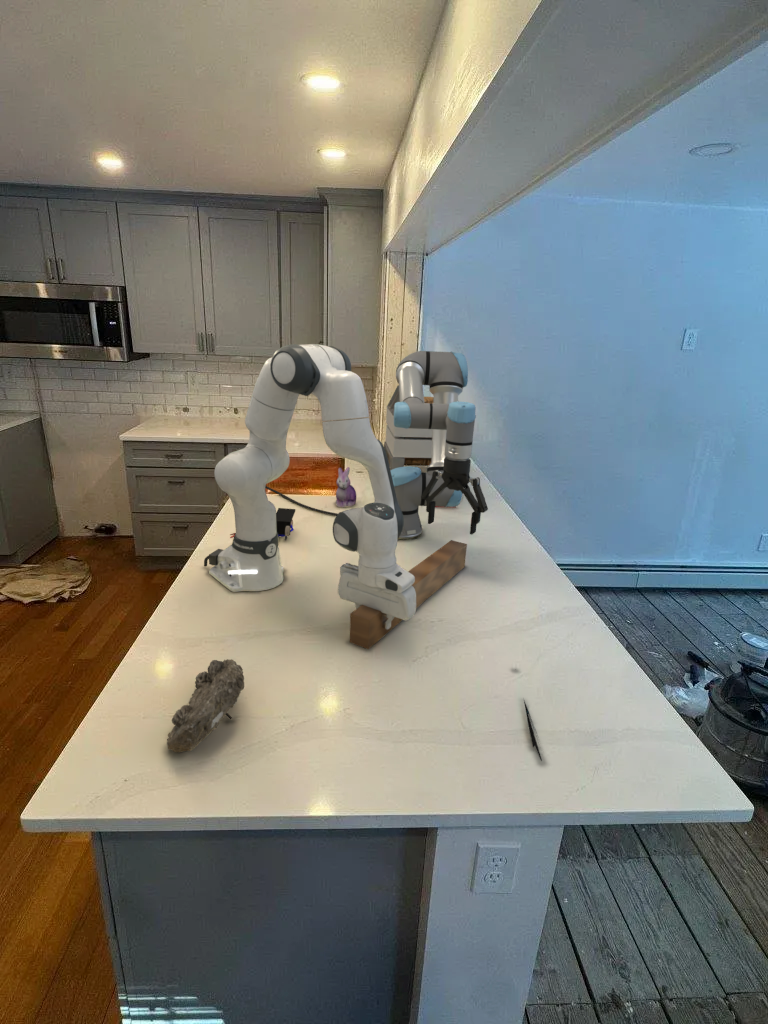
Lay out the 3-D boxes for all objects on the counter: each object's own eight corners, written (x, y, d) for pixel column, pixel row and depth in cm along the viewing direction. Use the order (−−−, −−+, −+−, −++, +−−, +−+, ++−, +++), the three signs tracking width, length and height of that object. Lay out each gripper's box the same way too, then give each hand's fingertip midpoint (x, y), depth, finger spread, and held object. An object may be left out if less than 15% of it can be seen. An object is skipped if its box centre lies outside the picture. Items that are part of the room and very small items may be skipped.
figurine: (339, 509, 221) (340, 472, 216) (329, 501, 229) (330, 465, 224) (361, 506, 225) (362, 470, 220) (351, 498, 234) (352, 463, 228)
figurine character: (291, 546, 188) (296, 525, 202) (290, 526, 185) (296, 506, 198) (270, 546, 188) (277, 525, 201) (269, 526, 185) (276, 506, 198)
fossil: (192, 660, 117) (244, 628, 112) (224, 691, 120) (276, 661, 115) (142, 746, 98) (202, 712, 93) (182, 779, 101) (242, 748, 96)
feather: (515, 674, 127) (521, 668, 126) (541, 765, 100) (548, 758, 100) (509, 670, 127) (514, 664, 126) (533, 761, 100) (540, 753, 99)
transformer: (382, 463, 289) (386, 382, 275) (445, 464, 293) (451, 384, 279) (390, 482, 257) (394, 392, 243) (460, 483, 261) (468, 394, 247)
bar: (449, 562, 179) (451, 539, 176) (464, 566, 176) (467, 543, 174) (349, 642, 134) (350, 613, 132) (368, 649, 132) (369, 620, 129)
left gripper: (333, 565, 135) (332, 616, 140) (407, 588, 125) (404, 642, 130) (348, 556, 140) (347, 606, 145) (421, 578, 131) (417, 630, 135)
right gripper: (412, 453, 163) (408, 522, 170) (494, 468, 151) (486, 541, 158) (424, 448, 169) (420, 515, 176) (504, 462, 157) (496, 533, 164)
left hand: (374, 623), depth 137 cm, fingers closed on bar, 5 cm apart
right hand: (451, 527), depth 167 cm, fingers open, 13 cm apart
